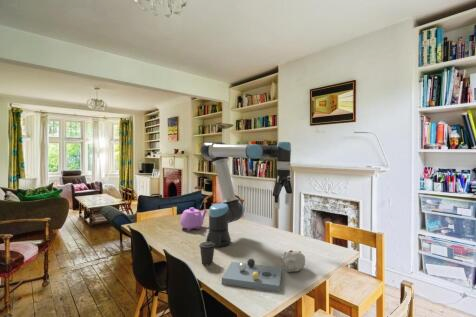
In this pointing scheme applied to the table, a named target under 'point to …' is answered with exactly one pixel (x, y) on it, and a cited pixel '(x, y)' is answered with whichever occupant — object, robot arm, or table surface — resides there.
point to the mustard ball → (255, 275)
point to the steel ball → (242, 267)
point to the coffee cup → (207, 252)
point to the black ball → (250, 262)
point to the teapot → (192, 218)
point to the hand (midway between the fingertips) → (282, 206)
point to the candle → (293, 261)
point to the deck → (266, 280)
